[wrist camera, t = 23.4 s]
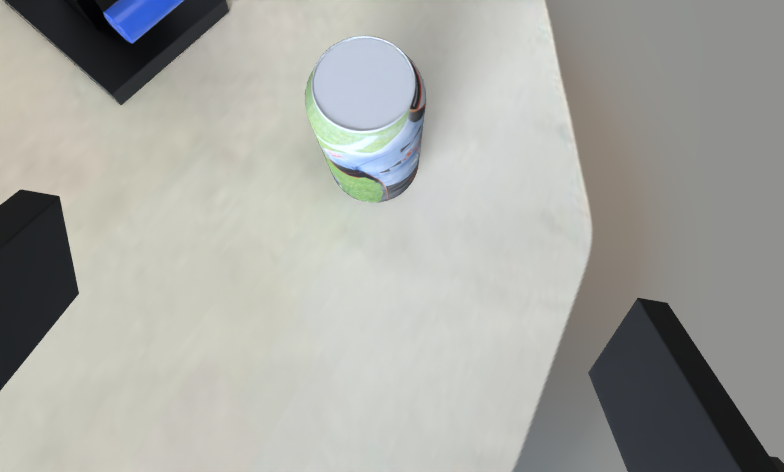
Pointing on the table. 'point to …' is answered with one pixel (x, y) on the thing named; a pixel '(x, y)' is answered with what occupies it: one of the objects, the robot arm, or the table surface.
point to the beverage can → (368, 116)
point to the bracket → (118, 38)
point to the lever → (137, 16)
